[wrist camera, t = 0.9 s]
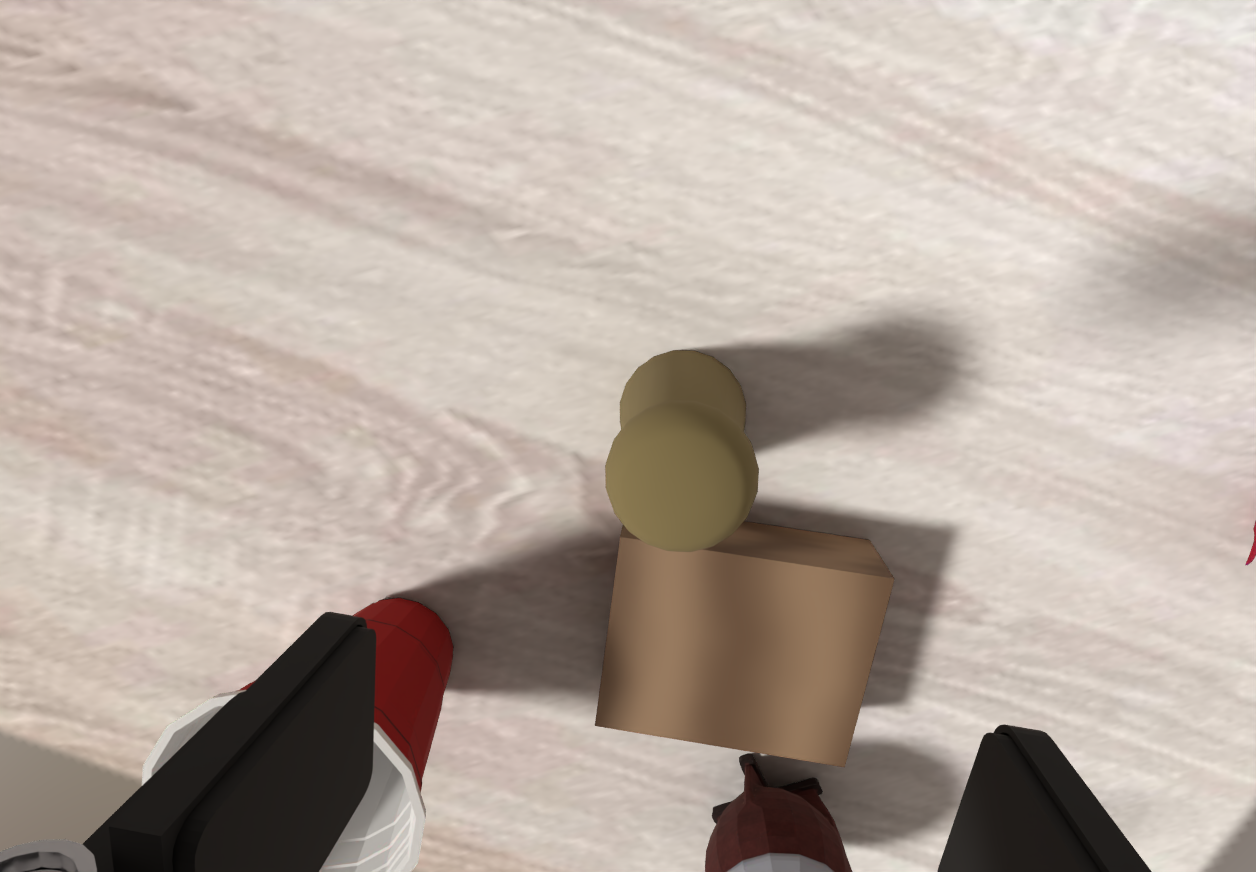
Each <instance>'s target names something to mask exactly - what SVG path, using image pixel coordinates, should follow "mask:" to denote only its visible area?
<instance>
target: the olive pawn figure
mask: <svg viewBox="0 0 1256 872" xmlns="http://www.w3.org/2000/svg"><path fill="white" fill-rule="evenodd" d="M745 416H746V402H745V399H744V395H743V392H742V388H741V385H740V384H739V382H738V381H737V379H736V378H735V377H734V375H733V374H732V372H731V371H730V369H728V368H727V367H726V366H724V365H723V364H722V363H720V362H719V361H718V360H716V359H715V358H714V357H711V356H708V355H705V354H703V353H700V352H697V351H684V350H673V351H670V352H667V353H664V354H660V355H657V356H654V357H653V358H651V359H650V360H648V361H647V362H646V363H644V364H643V365H641V366H640V367H638V368H637V370H636V371H635V372H634V374H633V375H632V376H631V378H630V379H629V381H628V382H627V383H626V386H625V389H624V392H623V395H622V398H621V401H620V424H621V431H620V432H619V434H618V435H617V436H616V438H615V439H614V441H613V444H612V447H611V450H610V453H609V456H608V459H607V462H606V465H605V472H606V490H607V493H608V496H609V499H610V501H611V504H612V507H613V510H614V513H615V514H616V516H617V517H618V518H619V520H620V521H621V522H622V523H623V525H624V526H625V527H626V529H627V530H628V531H629V532H630V533H632V534H633V535H635V536H636V537H637V538H639V539H640V540H642V541H643V542H644V543H646V544H648V545H651V546H654V547H657V548H660V549H663V550H666V551H675V552H693V551H697V550H701V549H705V548H709V547H713V546H714V545H716V544H718V543H719V542H721V541H723V540H724V539H726V538H728V537H729V536H731V535H732V534H733V533H734V532H735V531H736V530H737V529H738V527H739V526H740V525H741V524H742V523H743V522H744V520H745V519H746V518H747V516H748V514H749V512H750V509H751V507H752V504H753V502H754V499H755V497H756V494H757V492H758V475H759V468H758V464H757V461H756V457H755V454H754V450H753V447H752V444H751V442H750V440H749V439H748V438H747V436H746V435H745V433H744V427H745Z"/></svg>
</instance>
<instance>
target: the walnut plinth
mask: <svg viewBox="0 0 1256 872" xmlns="http://www.w3.org/2000/svg"><path fill="white" fill-rule="evenodd" d="M893 583H894V577H893V576H892V574H891V573H890V571H889V569H888V568H887V566H886V565H885V563H884V562H883V560H882V559H881V557H880V555H879V554H878V552H877V551H876V549H875V548H874V546H873V545H872V543H871V541H870V540H866V539H859V538H853V537H846V536H839V535H832V534H826V533H819V532H812V531H806V530H799V529H792V528H786V527H779V526H772V525H766V524H759V523H752V522H746V521H744V522H743V523H742V524H741V525H740V526H739V527H738V529H737V530H736V531H735V532H734V533H733V534H732V535H731V536H729V537H728V538H726V539H724V540H723V541H721V542H719V543H718V544H716V545H714V546H713V547H709V548H705V549H701V550H697V551H693V552H675V551H666V550H663V549H660V548H657V547H654V546H651V545H648V544H646V543H644V542H643V541H642V540H640V539H639V538H637V537H636V536H635V535H633V534H632V533H630V532H629V531H628V530H627V529H626V527H625V526H624V525H623V527H622V531H621V535H620V542H619V549H618V557H617V564H616V572H615V579H614V587H613V594H612V602H611V609H610V616H609V624H608V631H607V639H606V646H605V654H604V661H603V669H602V676H601V684H600V691H599V699H598V706H597V714H596V721H595V726H599V727H605V728H611V729H617V730H623V731H629V732H635V733H641V734H647V735H653V736H660V737H666V738H672V739H678V740H684V741H690V742H696V743H702V744H708V745H714V746H720V747H726V748H732V749H738V750H744V751H750V752H756V753H762V754H768V755H774V756H780V757H786V758H792V759H798V760H804V761H810V762H816V763H822V764H828V765H834V766H840V767H845V764H846V760H847V756H848V753H849V749H850V745H851V741H852V737H853V734H854V730H855V726H856V722H857V719H858V715H859V711H860V707H861V703H862V700H863V696H864V692H865V688H866V685H867V681H868V677H869V673H870V670H871V666H872V662H873V658H874V654H875V651H876V647H877V643H878V639H879V636H880V632H881V628H882V624H883V620H884V617H885V613H886V609H887V605H888V602H889V598H890V594H891V590H892V587H893Z"/></svg>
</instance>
